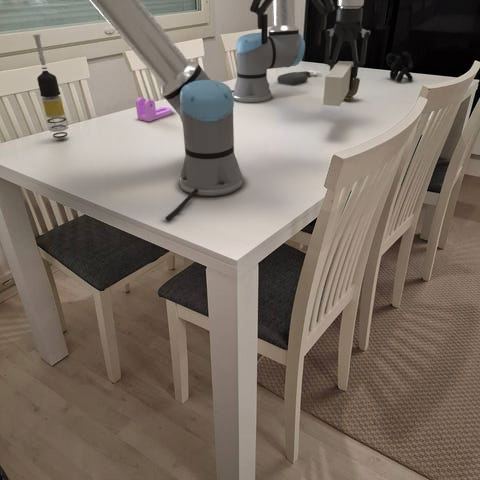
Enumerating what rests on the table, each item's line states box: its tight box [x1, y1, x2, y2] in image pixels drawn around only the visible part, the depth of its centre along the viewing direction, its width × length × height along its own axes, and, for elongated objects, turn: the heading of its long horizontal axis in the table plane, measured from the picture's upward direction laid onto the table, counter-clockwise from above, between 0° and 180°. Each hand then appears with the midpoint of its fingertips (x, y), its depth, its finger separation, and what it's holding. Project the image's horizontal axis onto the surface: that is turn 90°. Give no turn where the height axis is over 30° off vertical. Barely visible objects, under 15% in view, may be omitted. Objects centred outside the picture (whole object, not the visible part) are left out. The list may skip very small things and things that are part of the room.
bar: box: [322, 60, 354, 107], centre depth 136 cm, size 23×5×8 cm, turn 160°
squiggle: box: [385, 51, 414, 83], centre depth 198 cm, size 11×10×15 cm
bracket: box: [135, 97, 173, 122], centre depth 158 cm, size 13×6×7 cm, turn 143°
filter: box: [32, 33, 69, 140], centre depth 132 cm, size 6×6×30 cm
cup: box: [343, 77, 361, 102], centre depth 171 cm, size 8×7×8 cm
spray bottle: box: [276, 69, 322, 86], centre depth 204 cm, size 3×11×25 cm
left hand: (290, 44), depth 111 cm, fingers open, 13 cm apart
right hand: (341, 87), depth 144 cm, fingers closed on bar, 5 cm apart
